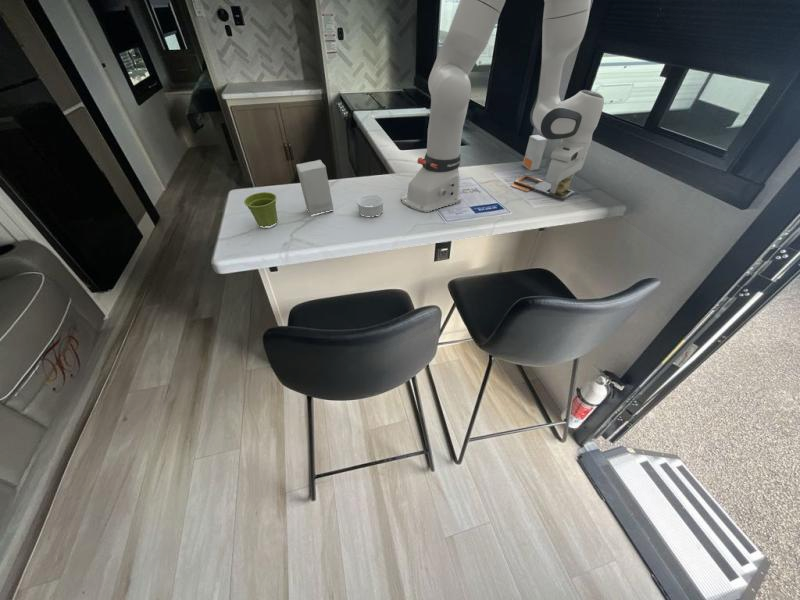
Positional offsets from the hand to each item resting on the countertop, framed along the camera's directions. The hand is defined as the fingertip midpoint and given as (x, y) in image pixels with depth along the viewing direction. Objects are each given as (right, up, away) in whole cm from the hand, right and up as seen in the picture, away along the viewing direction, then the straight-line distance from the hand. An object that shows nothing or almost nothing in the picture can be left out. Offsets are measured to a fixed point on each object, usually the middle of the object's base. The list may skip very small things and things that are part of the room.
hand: (559, 188), depth 117 cm
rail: (-5, +1, +4) cm, 7 cm away
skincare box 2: (-3, +15, +20) cm, 25 cm away
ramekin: (-68, -11, -7) cm, 69 cm away
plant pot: (-100, -16, -12) cm, 102 cm away
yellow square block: (0, -2, +1) cm, 2 cm away
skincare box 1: (-85, -10, -6) cm, 86 cm away
